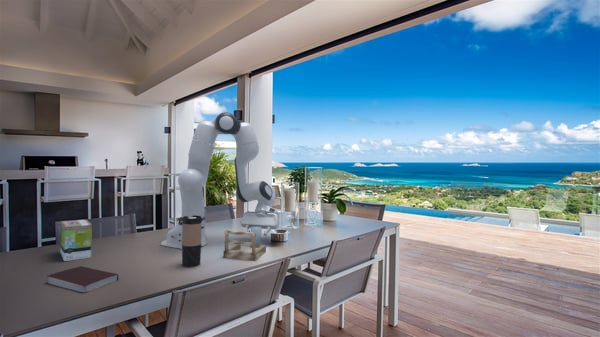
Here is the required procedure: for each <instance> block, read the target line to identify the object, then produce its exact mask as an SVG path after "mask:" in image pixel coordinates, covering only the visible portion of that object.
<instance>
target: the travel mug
mask: <svg viewBox="0 0 600 337" xmlns="http://www.w3.org/2000/svg"><path fill="white" fill-rule="evenodd" d="M201 255H202V246H201V216H197V215H193V216H192V217H187V216H184V217H183V225H182V249H181V265H182V267H185V268H194V267H198V266H200V265H201V257H202V256H201Z"/></svg>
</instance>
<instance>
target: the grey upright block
mask: <svg viewBox="0 0 600 337" xmlns="http://www.w3.org/2000/svg"><path fill="white" fill-rule="evenodd" d="M250 232H252V233H256V249H257V248H259V247H260V246H261V245H262V227H260V226H252V227H251V228H250ZM249 237H250V241H249V242H252V236H249ZM249 247H250V248H251V249H252V246H249Z"/></svg>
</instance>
